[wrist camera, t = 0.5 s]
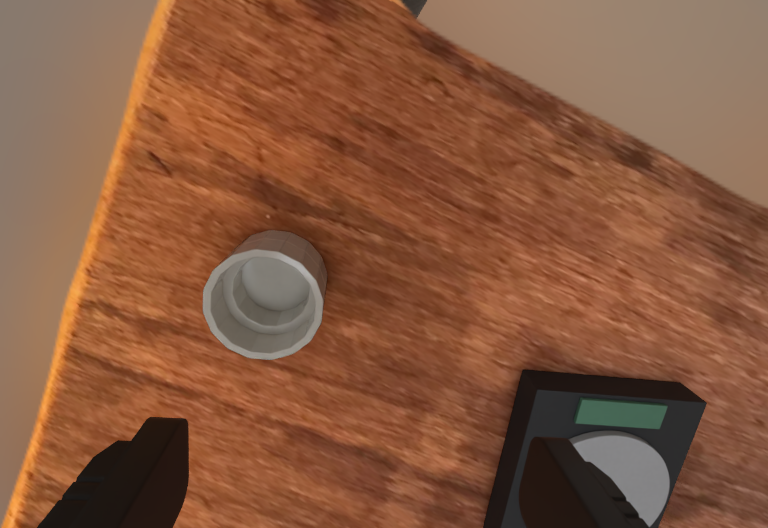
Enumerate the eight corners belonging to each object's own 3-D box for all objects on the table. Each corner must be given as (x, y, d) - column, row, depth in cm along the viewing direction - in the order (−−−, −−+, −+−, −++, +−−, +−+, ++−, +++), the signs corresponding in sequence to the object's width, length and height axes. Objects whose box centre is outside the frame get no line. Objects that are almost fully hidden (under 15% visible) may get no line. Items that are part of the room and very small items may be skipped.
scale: (522, 369, 30) (541, 394, 27) (680, 382, 32) (714, 408, 29) (483, 527, 34) (495, 564, 31) (625, 533, 35) (650, 569, 32)
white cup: (230, 223, 26) (203, 243, 21) (332, 234, 26) (328, 256, 22) (227, 315, 27) (201, 354, 23) (322, 324, 28) (317, 363, 23)
